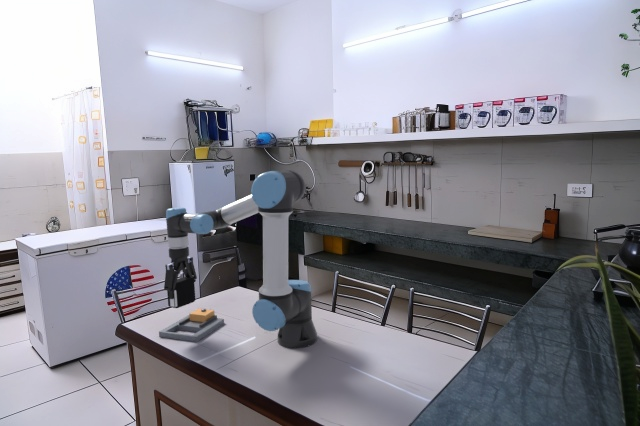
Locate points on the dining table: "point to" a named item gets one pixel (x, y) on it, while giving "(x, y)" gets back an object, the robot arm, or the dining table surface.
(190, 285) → the electronic device
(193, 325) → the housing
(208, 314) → the orange block with knob
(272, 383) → the dining table surface
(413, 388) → the dining table surface
